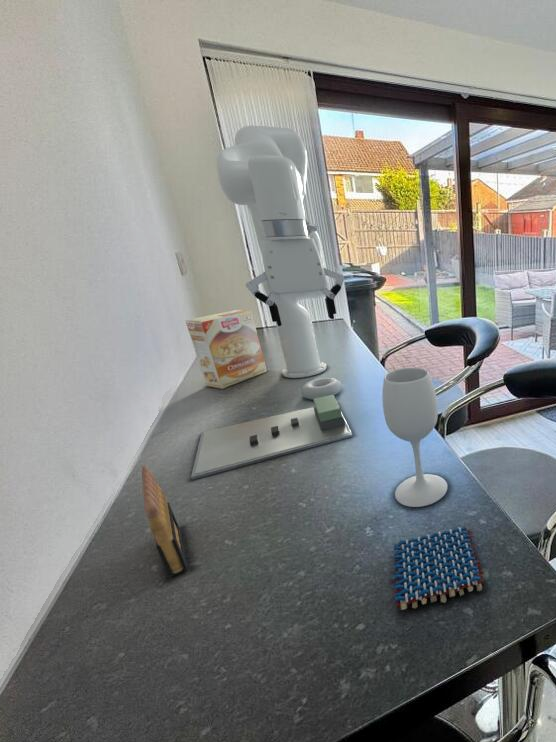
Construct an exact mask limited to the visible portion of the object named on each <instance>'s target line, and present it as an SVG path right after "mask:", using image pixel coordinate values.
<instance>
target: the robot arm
mask: <svg viewBox="0 0 556 742" xmlns="http://www.w3.org/2000/svg"><path fill="white" fill-rule="evenodd" d="M216 168H217V169H216V170H217V175H218V180H219V184H220V187H221V190H222V191H223V194H224V195H225V197H226V198H227V200H229V202H231V203H232V204H234V205H239V206H247V209H248V210H249V213H250V216H251V220H252V224H253V228H254V232H255V236H256V241H257V244H258V248H259V251H260V253H261V258H262V264H263V269H264V272H262V273H260V274H259V275H257V276H255V277H254V278H252V279H250V280H249V281H247V282H246V283H245V288H246V289H247V290H248V291H250V293H251V294H252V295H253V296H254V298H256V299H257V300H259V301H261V302H262V303H264V304H265V305H267V306H268V309H269V313H270V317H271V321H272V323H275V326H276V330H277V334H278V338H279V342H280V346H281V350H282V355H283V359H284V363H285V367H284V368H283V369H282V370H281V374H282V376H283V377H285V378H288V379H300V378H301V379H302V378H307V377H312V376H315V375H319V374H321V373H322V372H325V371H326V370H327V367H328V366H327V364H326V363H325V362H323V361H321V359H320V354H319V349H318V346H317V340H316V336H315V331H314V325H313V322H312V317H311V314H310V312H309V310H307V309H306V307H304V306H303V305H301V304H300V303H299V301H302V300H310V299H320V298H325V299H324V302H325V307H326V311H327V316H328V317H327V318H329V320H335V315H336V314H337V309H336V304H335V298H336V296H337V295H338V294H339V292H340V291H341V289H342V286H343V283H344V280H345V276H344V275H343V274H341V273H338V272H336V271H333V270H330V269H328V267H327V263H326V259H325V254H324V248H323V245H322V241H321V238H320V235H319V233H318V232H317V231H318V230H317V225H316V224H315V223H311V222H308V220H307V217H306V213H305V208H304V203H303V201H304V198H305V197H306V194H307V191H306V182H307V170H308V154H307V149H306V145H305V142H304V140H303V138H302V137H301V136H300V134H299V133H298V132H297V131H295V130H294V129H291V128H287V127H277V126H266V125H265V126H264V125H245V126H243V127H240V128H239V129H238V130H237V131H236V133H235V136H234V145H232V146H229V147H226V148H224V149H222V150H220V151H219V153H218V155H217V158H216ZM330 278H332V279H334V283H333V286H332V287H331V281H330ZM261 284H262V287H263V290H264V292H265V294H264V293H263V292H262V291H260V289H258V286H259V285H261Z"/></svg>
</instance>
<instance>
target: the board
mask: <svg viewBox="0 0 556 742" xmlns="http://www.w3.org/2000/svg"><path fill="white" fill-rule="evenodd" d="M314 407H315V405H313V406H310V407H306V408H302V409H297V410H293V411H288V412H284V413H279V414H275V415H271V416H266V417H261V418H257V419H253V420H249V421H244V422H239V423H235V424H231V425H227V426H226V425H225V426H222V427H218V428H213V429H208V430H204V431H201V434H200V438H199V442H198V447H197V450H196V454H195V459H194V462H193V467H192V472H191V475H190V478H191V480H193V481H194V480H197V479H200V478H205V477H207V476H212V475H216V474H219V473H223V472H226V471H230V470H233V469H237V468H241V467H245V466H249V465H252V464H256V463H260V462H263V461H268V460H271V459H275V458H279V457H282V456H286V455H290V454H293V453H296V452H301V451H305V450H309V449H311V448H315V447H319V446H323V445H327V444H330V443H334V442H337V441H341V440H346V439H348V438H353V437H354V436H353V432H352V430H351V428H350V427H349V424H348V422H347V420H346V419H345V416H344V414H343V412H342V411H341V413H342V415H343V417H344V421H345V425H342V426H338V427H334V428H330V429H326V430H322V431H321V429H320V426H319V423H318V421H317V418H316V415H315V411H314ZM294 418H298V422H299V426H295V427H292V424H291V419H294ZM275 426H278V427H279V433H280V434H278V435H274V436H272V433H271V427H275ZM254 435H257V436H258V444H254V445H250V436H254Z"/></svg>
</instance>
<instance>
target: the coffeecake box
mask: <svg viewBox="0 0 556 742" xmlns="http://www.w3.org/2000/svg"><path fill="white" fill-rule="evenodd" d="M185 324H186V327H187V330H188V333H189V336H190V340H191V343H192V347H193V348H194V352H195V356H196V358H197V360H198V364H199V367H200V371H201V373H202V376H203V380H204V383H205V386H206V387H209V388H215V389H221V390H222V389H225V388H228V387H230V386H233V385H236V384H238V383H241V382H243V381H247V380H249V379H252V378H255V377H256V376H258V375H261V374H265V373H267V372H268V370H267V367H266V362H265V358H264V356H263V351H262V347H261V343H260V340H259V336H258V331H257V328H256V324H255V320H254V316H253V312H252V310H243V309H233V310H229V311H224V312H220V313H219V312H218V313H215V314H210V315H205V316H200V317H196V318H191V319H186V320H185Z"/></svg>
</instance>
